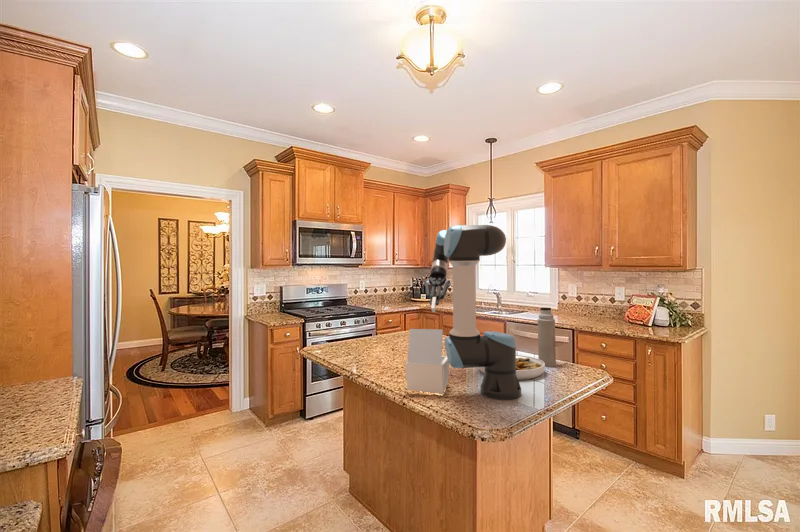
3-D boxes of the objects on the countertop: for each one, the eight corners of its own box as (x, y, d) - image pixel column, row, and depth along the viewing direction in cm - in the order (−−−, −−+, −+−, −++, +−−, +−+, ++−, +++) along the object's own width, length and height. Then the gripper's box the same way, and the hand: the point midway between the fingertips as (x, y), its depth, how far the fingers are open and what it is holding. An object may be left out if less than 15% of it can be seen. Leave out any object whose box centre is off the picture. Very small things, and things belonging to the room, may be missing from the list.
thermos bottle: (558, 364, 187) (556, 307, 187) (553, 367, 181) (552, 308, 181) (541, 362, 192) (540, 306, 192) (536, 365, 186) (535, 308, 186)
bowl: (535, 364, 189) (535, 348, 189) (553, 382, 160) (553, 363, 160) (474, 364, 193) (474, 348, 193) (481, 382, 163) (480, 363, 163)
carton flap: (410, 329, 154) (410, 328, 153) (442, 329, 150) (442, 329, 150) (407, 362, 148) (407, 362, 148) (441, 364, 145) (440, 363, 144)
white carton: (414, 382, 163) (413, 354, 163) (449, 384, 159) (449, 356, 159) (405, 393, 149) (405, 363, 149) (444, 396, 145) (443, 364, 145)
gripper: (453, 276, 184) (449, 315, 168) (426, 277, 188) (420, 315, 171) (451, 265, 179) (446, 304, 163) (424, 266, 182) (417, 304, 166)
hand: (433, 310), depth 167 cm, fingers closed
